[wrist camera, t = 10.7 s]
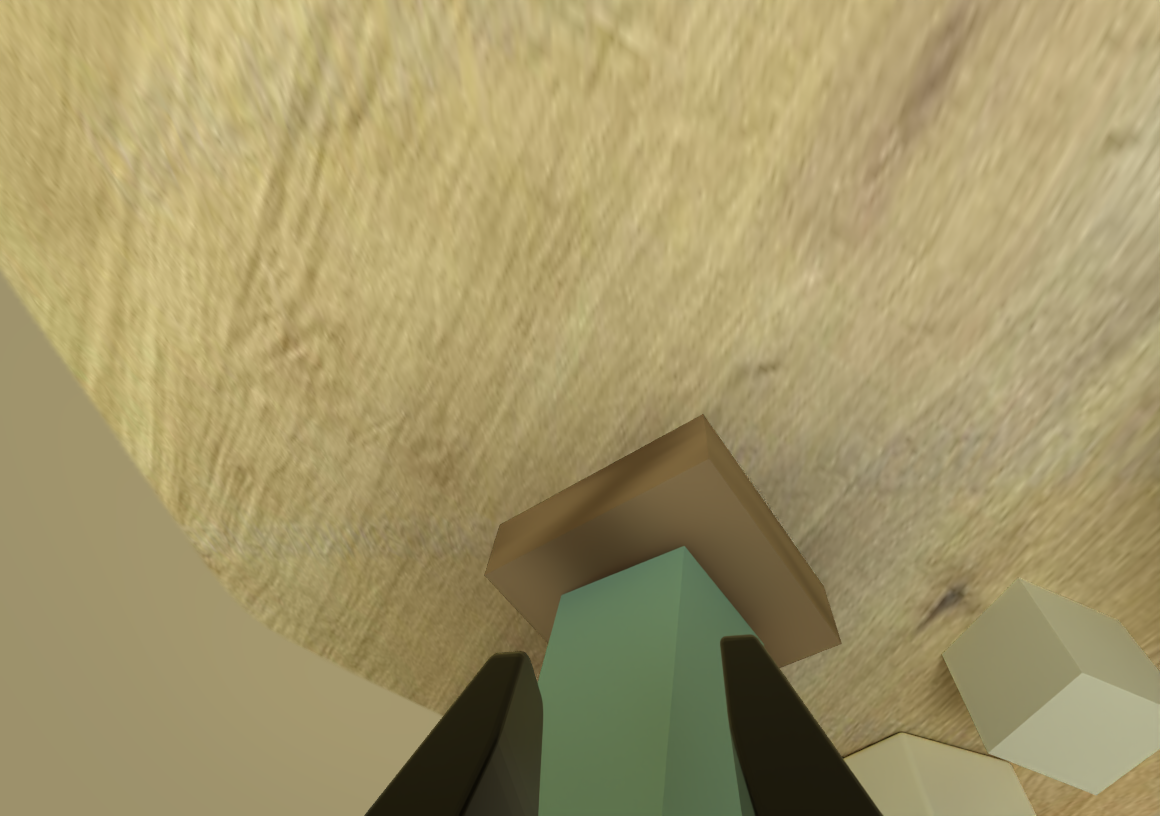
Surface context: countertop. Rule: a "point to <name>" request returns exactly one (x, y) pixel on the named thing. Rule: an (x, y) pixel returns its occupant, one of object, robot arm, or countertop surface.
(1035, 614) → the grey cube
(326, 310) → the countertop surface
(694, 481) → the walnut block
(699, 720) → the teal block
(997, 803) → the jar
